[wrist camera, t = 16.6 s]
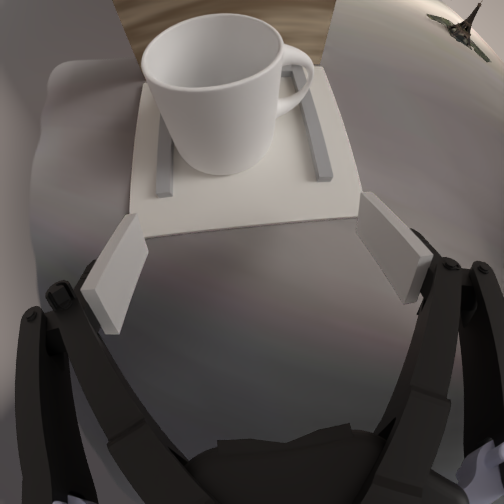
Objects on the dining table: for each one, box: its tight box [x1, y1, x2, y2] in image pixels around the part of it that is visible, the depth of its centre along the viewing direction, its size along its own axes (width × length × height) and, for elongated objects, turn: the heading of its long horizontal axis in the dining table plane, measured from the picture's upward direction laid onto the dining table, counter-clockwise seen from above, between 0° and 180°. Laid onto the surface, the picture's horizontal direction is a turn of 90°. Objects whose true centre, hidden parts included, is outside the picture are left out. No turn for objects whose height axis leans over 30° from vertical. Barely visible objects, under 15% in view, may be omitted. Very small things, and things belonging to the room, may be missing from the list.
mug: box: [141, 13, 314, 175], centre depth 18 cm, size 9×12×11 cm
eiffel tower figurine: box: [427, 3, 491, 62], centre depth 24 cm, size 15×10×13 cm
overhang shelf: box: [112, 0, 336, 80], centre depth 15 cm, size 10×20×20 cm, turn 96°
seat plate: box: [129, 65, 363, 239], centre depth 23 cm, size 18×20×2 cm
